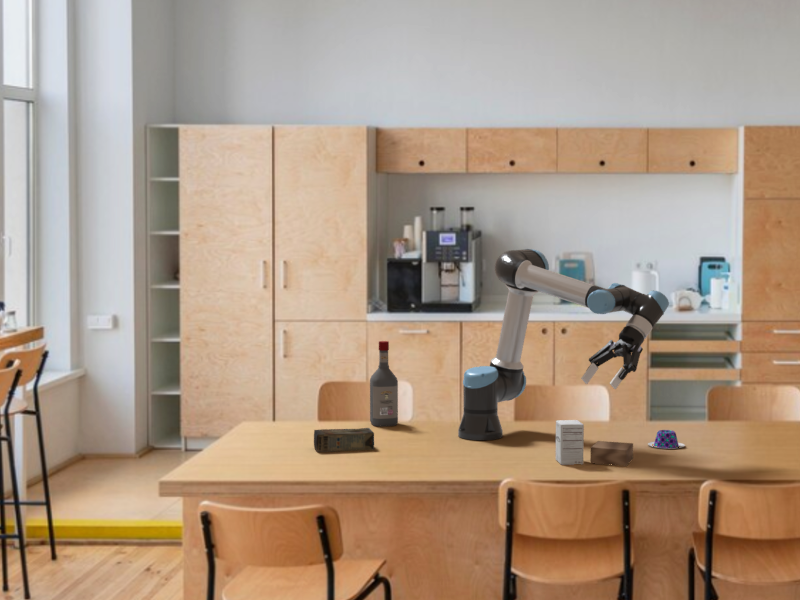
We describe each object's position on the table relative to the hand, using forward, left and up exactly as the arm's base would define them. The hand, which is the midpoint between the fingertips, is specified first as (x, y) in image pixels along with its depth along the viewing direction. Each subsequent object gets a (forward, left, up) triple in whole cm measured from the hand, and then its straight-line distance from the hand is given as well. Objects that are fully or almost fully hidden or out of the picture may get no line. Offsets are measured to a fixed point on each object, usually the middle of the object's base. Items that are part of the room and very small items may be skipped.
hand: (598, 383), depth 382 cm
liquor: (-84, +31, -24) cm, 93 cm away
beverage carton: (-80, -14, -24) cm, 85 cm away
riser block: (+5, -2, -24) cm, 24 cm away
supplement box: (-7, -8, -24) cm, 26 cm away
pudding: (+17, +28, -24) cm, 40 cm away
